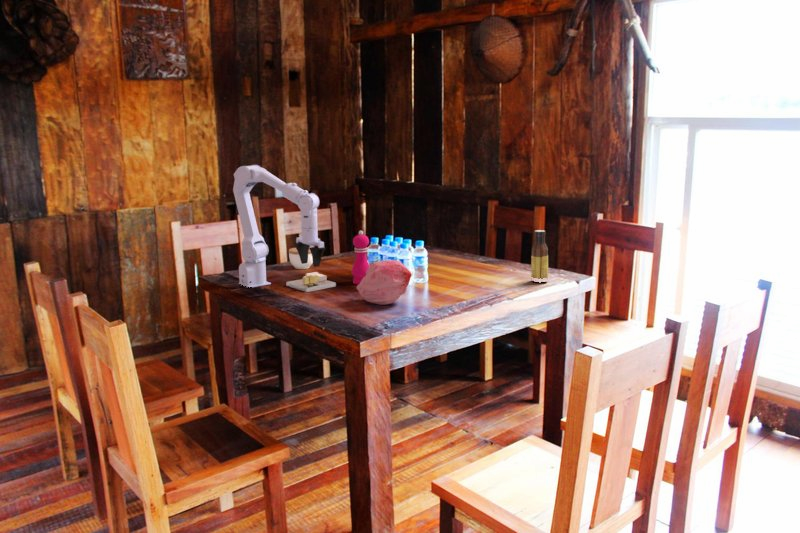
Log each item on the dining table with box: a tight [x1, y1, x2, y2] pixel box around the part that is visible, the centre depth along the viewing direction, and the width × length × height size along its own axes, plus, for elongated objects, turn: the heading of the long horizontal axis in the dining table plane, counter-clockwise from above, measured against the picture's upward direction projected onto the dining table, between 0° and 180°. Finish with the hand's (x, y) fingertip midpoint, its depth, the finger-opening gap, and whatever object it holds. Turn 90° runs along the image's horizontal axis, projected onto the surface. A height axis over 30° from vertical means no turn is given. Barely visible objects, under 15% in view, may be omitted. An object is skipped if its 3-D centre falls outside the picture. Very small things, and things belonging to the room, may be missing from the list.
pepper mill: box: [351, 230, 370, 285], centre depth 257 cm, size 7×7×20 cm
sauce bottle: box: [530, 229, 549, 279], centre depth 260 cm, size 7×6×20 cm
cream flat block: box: [303, 271, 328, 281], centre depth 256 cm, size 7×5×2 cm
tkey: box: [302, 275, 319, 287], centre depth 249 cm, size 6×4×5 cm, turn 132°
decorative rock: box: [356, 259, 412, 306], centre depth 229 cm, size 19×14×15 cm
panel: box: [285, 278, 337, 293], centre depth 254 cm, size 13×13×2 cm
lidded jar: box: [288, 247, 313, 270], centre depth 285 cm, size 11×11×9 cm
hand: (310, 264), depth 248 cm, fingers open, 7 cm apart
